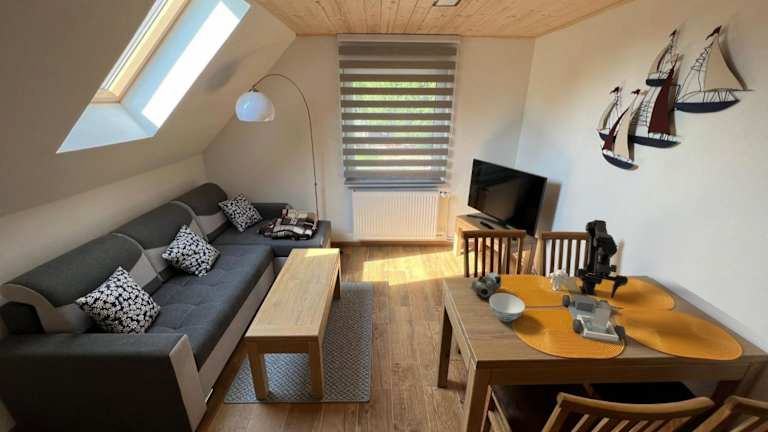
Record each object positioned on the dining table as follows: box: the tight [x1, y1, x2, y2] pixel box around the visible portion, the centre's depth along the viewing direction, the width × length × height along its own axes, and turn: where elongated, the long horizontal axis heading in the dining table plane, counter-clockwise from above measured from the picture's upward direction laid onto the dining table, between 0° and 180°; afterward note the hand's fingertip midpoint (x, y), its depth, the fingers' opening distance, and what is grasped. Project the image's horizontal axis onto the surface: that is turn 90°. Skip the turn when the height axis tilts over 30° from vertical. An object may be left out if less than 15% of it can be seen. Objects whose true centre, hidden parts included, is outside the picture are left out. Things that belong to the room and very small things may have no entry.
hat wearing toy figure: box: [549, 267, 569, 291], centre depth 169 cm, size 9×4×12 cm, turn 88°
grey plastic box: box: [589, 299, 612, 333], centre depth 139 cm, size 6×5×12 cm
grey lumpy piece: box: [470, 272, 503, 300], centre depth 166 cm, size 15×12×14 cm
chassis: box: [561, 294, 626, 344], centre depth 147 cm, size 27×18×5 cm, turn 165°
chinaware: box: [489, 292, 526, 323], centre depth 148 cm, size 15×15×8 cm
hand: (599, 295), depth 144 cm, fingers open, 9 cm apart
